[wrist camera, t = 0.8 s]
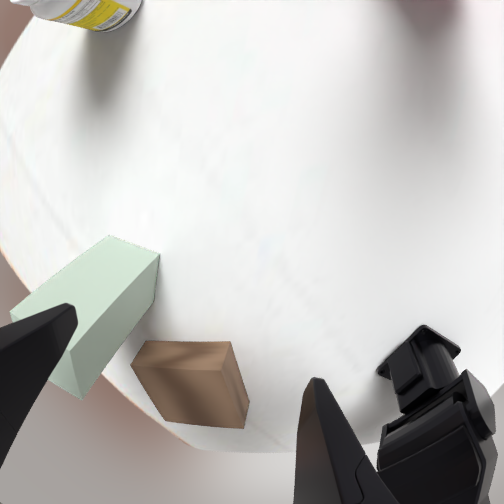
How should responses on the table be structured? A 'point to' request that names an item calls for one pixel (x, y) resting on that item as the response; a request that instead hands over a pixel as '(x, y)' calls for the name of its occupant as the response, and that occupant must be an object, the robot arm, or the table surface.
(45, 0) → the supplement bottle
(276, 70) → the table surface
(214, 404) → the walnut block
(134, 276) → the tall block
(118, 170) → the table surface
